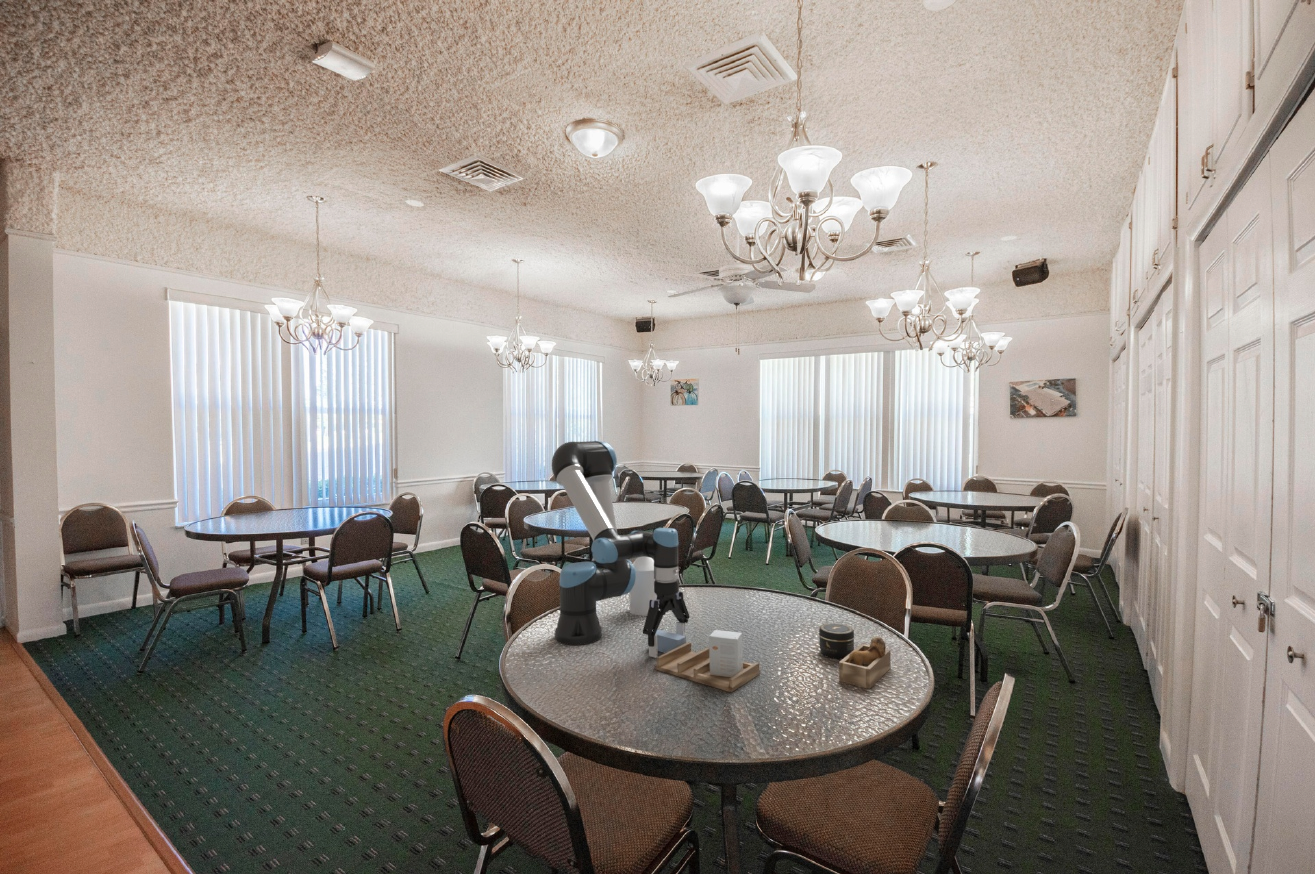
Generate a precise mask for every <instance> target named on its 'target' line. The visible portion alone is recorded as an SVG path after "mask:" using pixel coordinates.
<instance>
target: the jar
mask: <svg viewBox="0 0 1315 874" xmlns="http://www.w3.org/2000/svg"><path fill="white" fill-rule="evenodd" d="M818 631H819V632H818V637H819V642H818V644H819V650H820V652H821V654H822V655H823V656H824V657H827V658H829V659H835V660H842V659H844V658H845V657H846V656H847V655H849V654H850V653H851V652H852V651H853V650H855V631H854V628H853V627H851V626H849V625H847V624H843V623H836V622H835V623H834V622H833V623H829V622H828V623H824V624H822V625H820V626H819V628H818Z"/></svg>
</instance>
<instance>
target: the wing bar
mask: <svg viewBox="0 0 1315 874" xmlns="http://www.w3.org/2000/svg"><path fill="white" fill-rule="evenodd" d="M655 635H657V645H658V652H660V653H663V654H665V653H667V652H669V651H671V650H673V649H675V648H677V647H679V646H681V645H683V644H686V643H687V636H682V635H678V634H676V633H673V632H670V631H665V630H661V629H659V628H658V629H657V632H656V634H655Z"/></svg>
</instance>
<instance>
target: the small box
mask: <svg viewBox="0 0 1315 874" xmlns="http://www.w3.org/2000/svg"><path fill="white" fill-rule="evenodd" d="M708 647H709V660H710V675H716V676H723V677H731V678H732V677H733V676H735V675H736V674H738V673H739V672H741V671H743V662H744V653H743V649H744V648H743V632H738V631H728V630H719V629H718V630H717V629H715V630H713V631H712V632H711V634H709V636H708Z"/></svg>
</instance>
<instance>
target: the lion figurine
mask: <svg viewBox="0 0 1315 874" xmlns="http://www.w3.org/2000/svg"><path fill="white" fill-rule="evenodd" d="M869 646H870V648H869V649H868V650H866V651H853V652H851V653H850V656H849V659H848V663H851V664H854V663H855V665H860V666H863V665H865V666H867V667H868V666H869V665H870V664H871V663H872V662H873V661H874V660H875V659H877V658H878V657H883V656H884V655H885V651H886V649H887V648H886V641H885V640H884V639H883V638H882V637H879V636H875V637H873V638H871V639H870V645H869ZM883 658H884V657H883ZM862 664H863V665H862Z"/></svg>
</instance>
